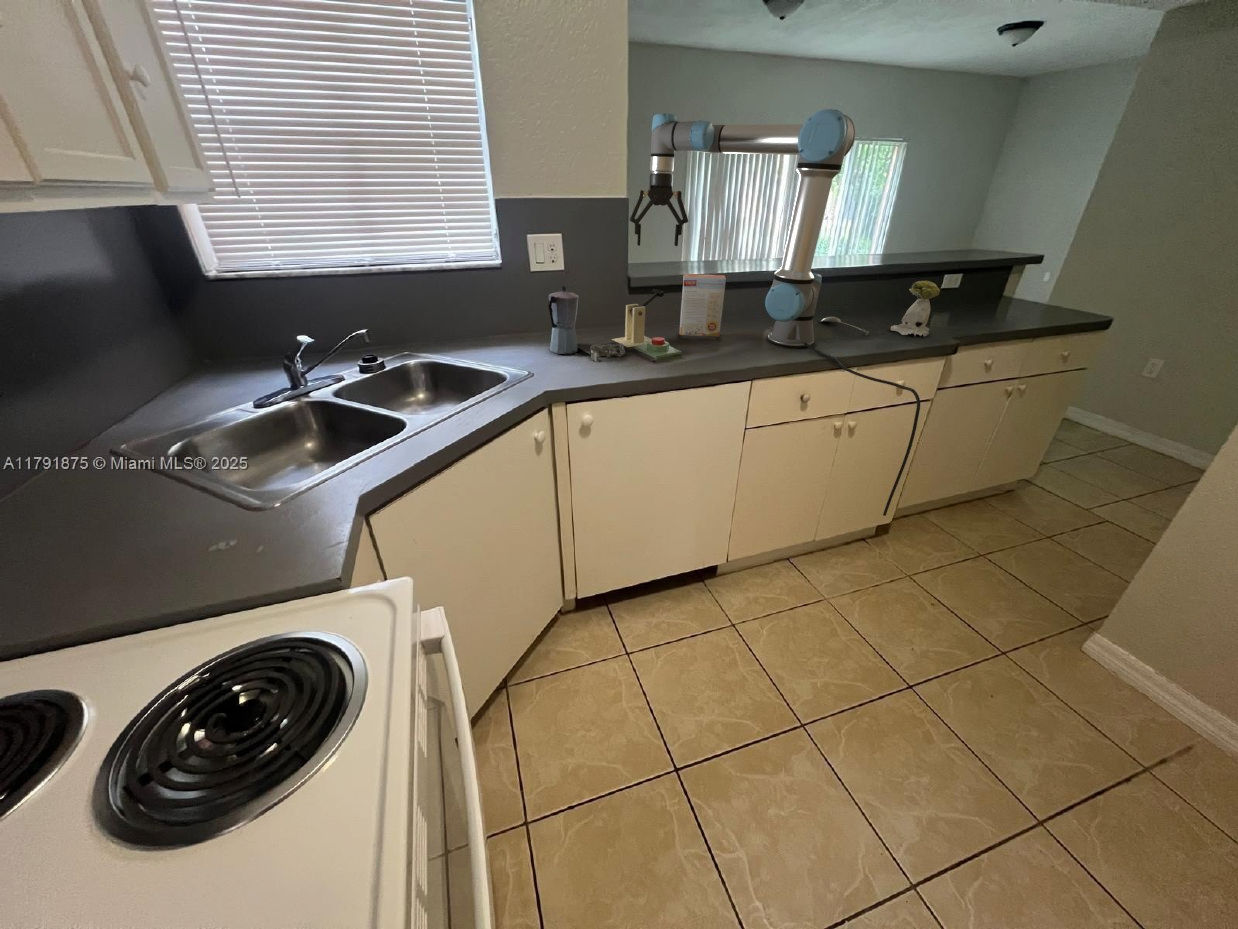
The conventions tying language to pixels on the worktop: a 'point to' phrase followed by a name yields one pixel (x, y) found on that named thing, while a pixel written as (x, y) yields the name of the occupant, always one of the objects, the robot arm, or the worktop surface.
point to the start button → (658, 341)
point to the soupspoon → (843, 323)
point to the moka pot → (563, 321)
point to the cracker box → (702, 304)
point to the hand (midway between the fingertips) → (657, 245)
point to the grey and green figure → (918, 309)
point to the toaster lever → (649, 299)
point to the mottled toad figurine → (599, 351)
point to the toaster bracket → (634, 327)
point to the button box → (659, 351)
